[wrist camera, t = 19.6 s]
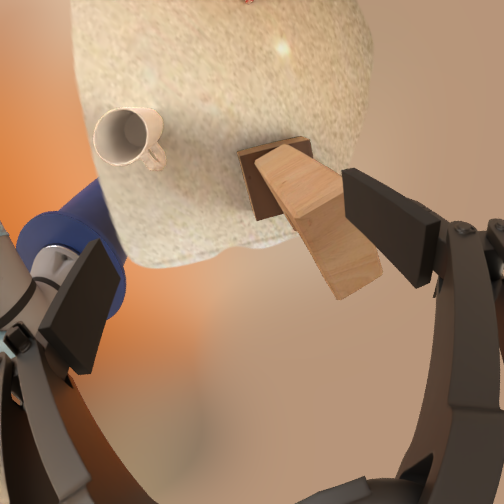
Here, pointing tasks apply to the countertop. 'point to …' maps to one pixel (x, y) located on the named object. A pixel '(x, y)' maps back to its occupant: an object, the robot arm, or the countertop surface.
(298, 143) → the plinth
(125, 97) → the countertop surface
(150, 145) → the mug
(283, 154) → the decorative block
